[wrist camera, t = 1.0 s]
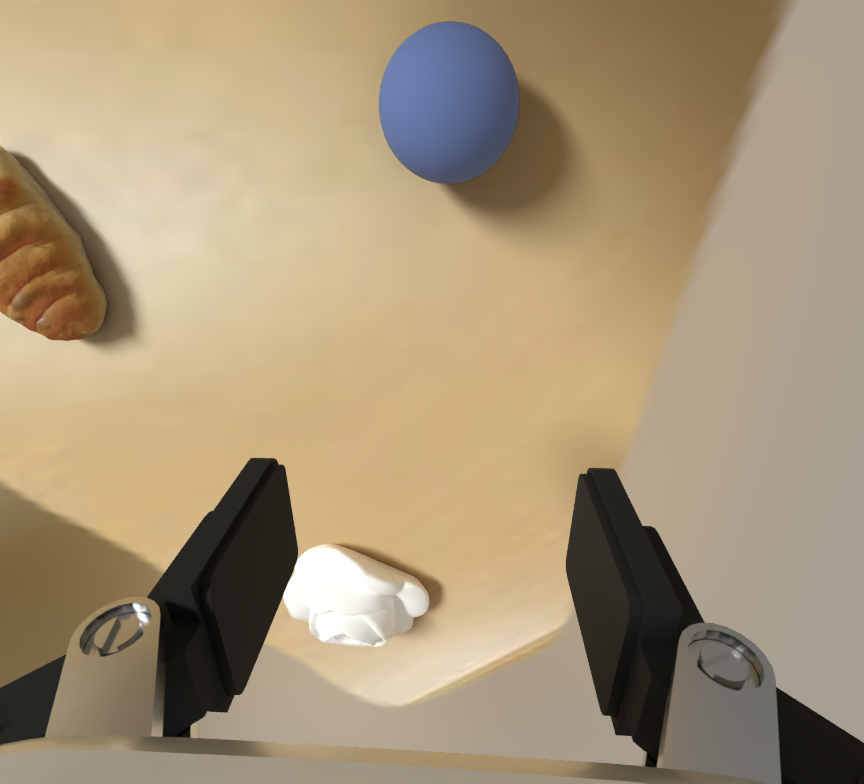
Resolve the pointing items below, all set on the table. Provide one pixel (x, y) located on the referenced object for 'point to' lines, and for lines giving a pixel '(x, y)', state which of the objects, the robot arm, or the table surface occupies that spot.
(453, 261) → the table surface
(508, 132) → the ball
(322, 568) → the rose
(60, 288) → the pastry
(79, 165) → the table surface
